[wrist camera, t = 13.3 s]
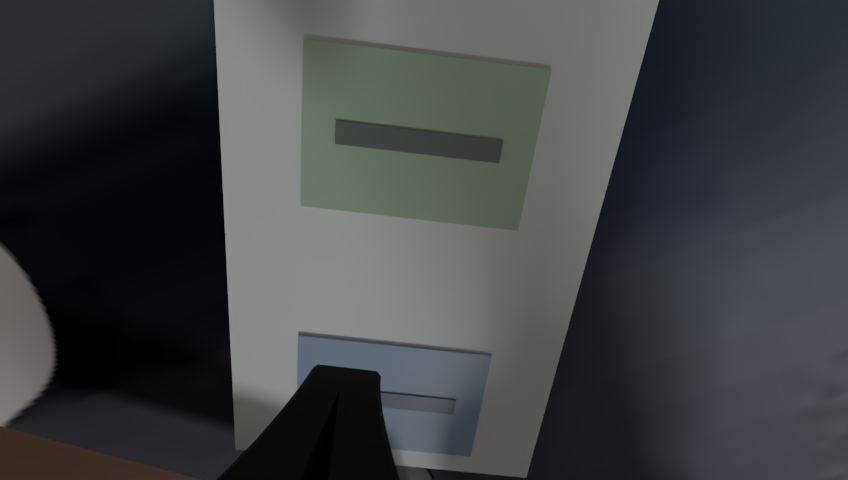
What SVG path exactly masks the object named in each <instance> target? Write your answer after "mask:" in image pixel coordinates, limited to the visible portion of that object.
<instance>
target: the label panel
mask: <svg viewBox="0 0 848 480" xmlns="http://www.w3.org/2000/svg"><path fill="white" fill-rule="evenodd" d="M658 2H659V0H214V16H215V36H216V57H217V78H218V98H219V119H220V140H221V160H222V181H223V201H224V222H225V243H226V263H227V284H228V305H229V325H230V346H231V367H232V387H233V408H234V428H235V449H236V450H246V449H247V448H248V447H249V446H250V445H251V444H252V443H253V442H254V441H255V440H256V439H257V438H258V437H259V435H260V434H261V433H262V432H263V431H264V430H265V429H266V427H267V426H268V425H269V424H270V423H271V422H272V420H273V419H274V418H275V417H276V416H277V415H278V413H279V412H280V411H281V410H282V409H283V408H284V406H285V405H286V404H287V402H288V401H289V400H290V399H291V397H292V396H293V395H294V394H295V392H296V391H297V390H298V388H299V387H300V386H301V384H302V383H303V381H304V380H305V379H306V377H307V376H308V374H309V373H310V371H311V370H312V368H313V367H315V366H316V365H318V364H320V365H328V366H337V367H346V368H355V369H363V370H372V371H377V372H378V373H379V374H380V376H381V382H380V389H381V402H382V409H383V415H384V421H385V426H386V431H387V435H388V439H389V443H390V447H391V451H392V455H393V459H394V462H395V466H396V469H397V473H398V476H399V479H400V480H433V478H432V476H431V474H430V472H429V471H428V470H427V469H426V468H430V469H440V470H450V471H461V472H471V473H481V474H491V475H501V476H512V477H522V478H526V477H527V474H528V470H529V466H530V463H531V459H532V456H533V452H534V448H535V445H536V441H537V438H538V434H539V430H540V427H541V423H542V420H543V416H544V412H545V409H546V405H547V402H548V398H549V394H550V391H551V387H552V384H553V380H554V376H555V373H556V369H557V366H558V362H559V358H560V355H561V351H562V348H563V344H564V340H565V337H566V333H567V330H568V326H569V322H570V319H571V315H572V312H573V308H574V304H575V301H576V297H577V294H578V290H579V286H580V283H581V279H582V276H583V272H584V268H585V265H586V261H587V258H588V254H589V250H590V247H591V243H592V240H593V236H594V232H595V229H596V225H597V222H598V218H599V214H600V211H601V207H602V204H603V200H604V196H605V193H606V189H607V186H608V182H609V178H610V175H611V171H612V168H613V164H614V160H615V157H616V153H617V150H618V146H619V142H620V139H621V135H622V132H623V128H624V124H625V121H626V117H627V114H628V110H629V106H630V103H631V99H632V96H633V92H634V88H635V85H636V81H637V78H638V74H639V70H640V67H641V63H642V60H643V56H644V52H645V49H646V45H647V42H648V38H649V34H650V31H651V27H652V24H653V20H654V16H655V13H656V9H657V6H658Z"/></svg>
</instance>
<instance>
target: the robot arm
mask: <svg viewBox="0 0 848 480" xmlns="http://www.w3.org/2000/svg"><path fill="white" fill-rule="evenodd" d="M380 382H381V376H380V374H379V373H378V372H377V371H372V370H363V369H355V368H346V367H337V366H328V365H320V364H318V365H316V366H315V367H313V368H312V370H311V371H310V373H309V374H308V376H307V377H306V379H305V380H304V381H303V383H302V384H301V386H300V387H299V388H298V390H297V391H296V392H295V394H294V395H293V396H292V397H291V399H290V400H289V401H288V402H287V404H286V405H285V406H284V408H283V409H282V410H281V411H280V412H279V413H278V415H277V416H276V417H275V418H274V419H273V420H272V422H271V423H270V424H269V425H268V426H267V427H266V429H265V430H264V431H263V432H262V433H261V434H260V435H259V437H258V438H257V439H256V440H255V441H254V442H253V443H252V444H251V445H250V446H249V447H248V448H247V449H246V450H245V451H244V452H243V453H242V454H241V455H240V457H239V458H238V459H237V460H236V461H235V462H234V463H233V464H232V465H231V466H230V467H229V468H228V469H227V470H226V471H225V472H224V473H223V474H222V475H221V476H220V477H219V478H218V479H217V480H400V479H399V476H398V473H397V469H396V466H395V462H394V459H393V455H392V451H391V447H390V443H389V439H388V435H387V431H386V426H385V421H384V415H383V409H382V402H381V389H380Z"/></svg>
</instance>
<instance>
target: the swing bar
mask: <svg viewBox="0 0 848 480" xmlns="http://www.w3.org/2000/svg"><path fill="white" fill-rule="evenodd" d="M0 480H200V479H197V478H193V477H189V476H185V475H182V474H178V473H174V472H170V471H167V470H163V469H159V468H155V467H152V466H148V465H144V464H140V463H136V462H133V461H129V460H125V459H121V458H118V457H114V456H110V455H106V454H103V453H99V452H95V451H91V450H88V449H84V448H80V447H76V446H73V445H69V444H65V443H61V442H57V441H54V440H50V439H46V438H42V437H39V436H35V435H31V434H27V433H24V432H20V431H16V430H12V429H9V428H5V427H1V426H0Z"/></svg>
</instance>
